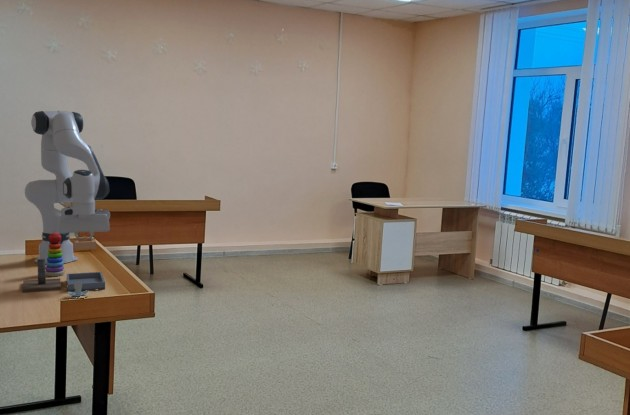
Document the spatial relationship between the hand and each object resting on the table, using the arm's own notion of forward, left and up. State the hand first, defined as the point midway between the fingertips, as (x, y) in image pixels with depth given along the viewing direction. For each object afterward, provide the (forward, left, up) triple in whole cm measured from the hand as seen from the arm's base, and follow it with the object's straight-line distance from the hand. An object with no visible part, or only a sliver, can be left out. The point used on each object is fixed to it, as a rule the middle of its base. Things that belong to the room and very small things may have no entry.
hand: (84, 242), depth 258 cm
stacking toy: (-17, -12, -17) cm, 27 cm away
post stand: (+2, -17, -17) cm, 24 cm away
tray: (+4, 0, -17) cm, 17 cm away
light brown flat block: (+4, 0, -1) cm, 4 cm away
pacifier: (+22, -4, -17) cm, 28 cm away
